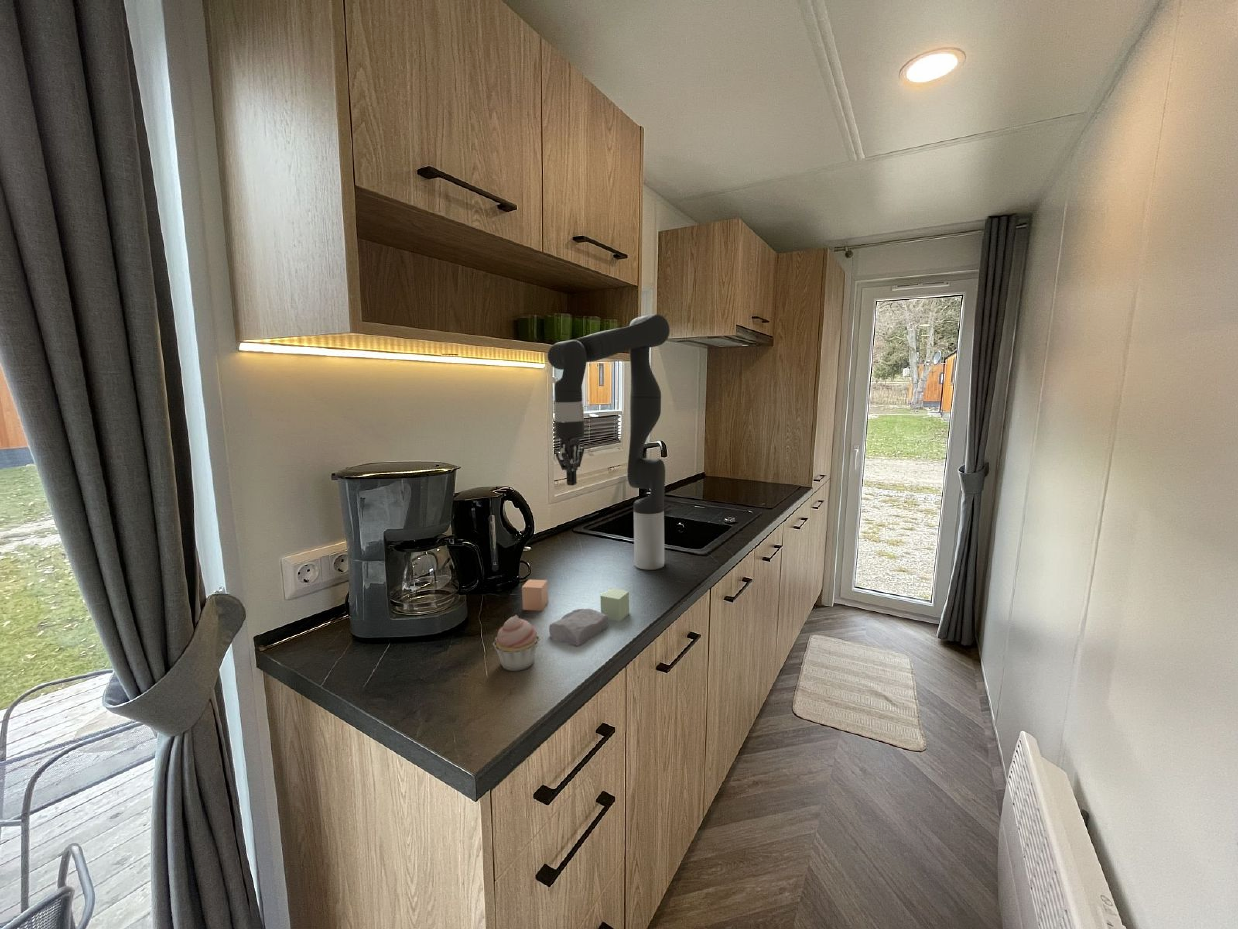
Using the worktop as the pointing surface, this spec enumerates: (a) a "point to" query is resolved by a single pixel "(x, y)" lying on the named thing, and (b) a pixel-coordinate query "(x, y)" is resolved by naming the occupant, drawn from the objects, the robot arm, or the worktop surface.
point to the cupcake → (516, 644)
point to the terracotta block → (535, 595)
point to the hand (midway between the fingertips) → (571, 484)
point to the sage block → (615, 604)
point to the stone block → (578, 626)
